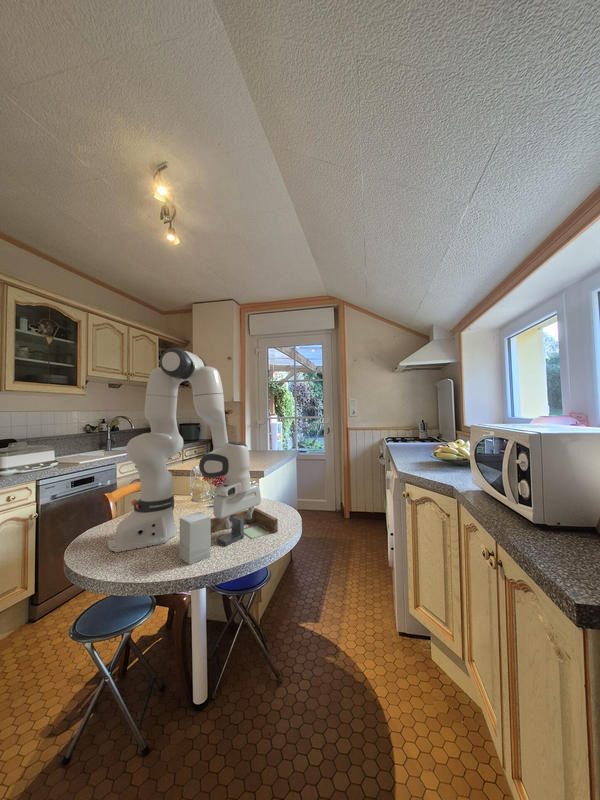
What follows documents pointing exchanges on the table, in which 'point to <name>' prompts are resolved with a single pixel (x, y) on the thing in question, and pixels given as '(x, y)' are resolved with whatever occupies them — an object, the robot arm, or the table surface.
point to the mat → (254, 532)
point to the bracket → (233, 532)
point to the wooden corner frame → (257, 516)
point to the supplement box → (195, 537)
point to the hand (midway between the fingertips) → (239, 523)
